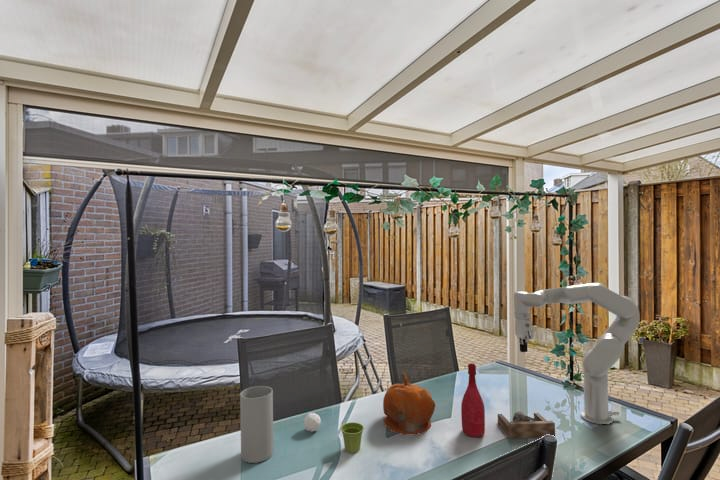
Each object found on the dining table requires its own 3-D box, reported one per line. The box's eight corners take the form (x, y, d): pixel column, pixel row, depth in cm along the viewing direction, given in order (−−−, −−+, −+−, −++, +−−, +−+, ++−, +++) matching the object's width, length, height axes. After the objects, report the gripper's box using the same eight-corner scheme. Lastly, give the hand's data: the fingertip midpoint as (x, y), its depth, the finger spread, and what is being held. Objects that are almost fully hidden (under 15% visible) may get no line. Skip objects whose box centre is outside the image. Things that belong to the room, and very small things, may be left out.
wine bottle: (469, 439, 155) (468, 368, 156) (457, 428, 165) (456, 361, 165) (489, 436, 158) (488, 366, 158) (476, 425, 167) (475, 359, 168)
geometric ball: (308, 436, 166) (301, 418, 169) (324, 427, 168) (317, 410, 172) (307, 435, 159) (299, 417, 163) (324, 426, 162) (316, 408, 165)
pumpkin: (395, 407, 188) (394, 363, 188) (442, 419, 174) (441, 371, 174) (372, 425, 169) (371, 376, 169) (423, 440, 155) (422, 387, 156)
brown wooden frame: (538, 421, 170) (538, 408, 170) (555, 437, 156) (554, 422, 156) (497, 422, 170) (497, 409, 170) (510, 438, 156) (510, 424, 156)
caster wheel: (535, 429, 168) (539, 436, 159) (509, 421, 171) (512, 428, 162) (537, 414, 169) (542, 421, 159) (511, 406, 172) (514, 412, 162)
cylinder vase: (235, 455, 147) (234, 392, 147) (263, 443, 156) (262, 383, 156) (250, 468, 138) (249, 401, 138) (279, 454, 147) (278, 391, 147)
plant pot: (351, 440, 156) (350, 420, 157) (368, 447, 151) (368, 426, 151) (336, 450, 149) (335, 428, 149) (354, 458, 143) (353, 436, 143)
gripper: (537, 318, 182) (538, 355, 182) (522, 313, 197) (523, 347, 197) (522, 318, 182) (523, 356, 182) (508, 313, 197) (510, 347, 196)
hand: (523, 351), depth 189 cm, fingers closed
